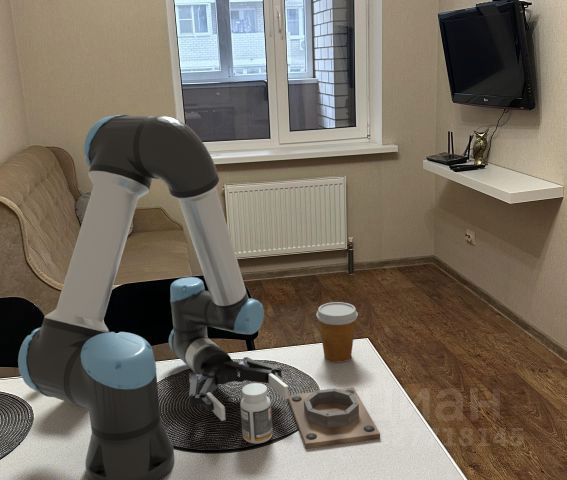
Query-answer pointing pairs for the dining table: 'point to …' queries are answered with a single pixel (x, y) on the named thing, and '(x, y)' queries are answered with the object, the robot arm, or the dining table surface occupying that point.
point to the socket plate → (332, 417)
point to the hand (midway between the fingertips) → (256, 403)
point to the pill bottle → (256, 413)
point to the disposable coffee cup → (337, 330)
